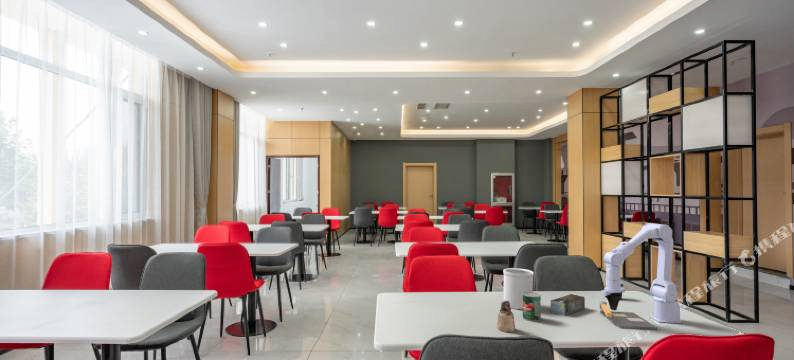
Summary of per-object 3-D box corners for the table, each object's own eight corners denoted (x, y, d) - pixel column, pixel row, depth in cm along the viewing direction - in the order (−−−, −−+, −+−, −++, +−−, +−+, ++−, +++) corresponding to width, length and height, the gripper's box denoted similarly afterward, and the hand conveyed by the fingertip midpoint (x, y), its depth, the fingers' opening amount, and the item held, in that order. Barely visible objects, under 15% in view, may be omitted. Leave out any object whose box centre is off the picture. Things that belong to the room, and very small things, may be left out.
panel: (632, 314, 192) (632, 309, 192) (657, 329, 171) (657, 324, 171) (599, 312, 194) (599, 307, 194) (619, 328, 173) (619, 322, 173)
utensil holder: (529, 302, 211) (529, 268, 211) (536, 310, 196) (536, 274, 196) (500, 301, 212) (501, 267, 213) (505, 309, 197) (505, 273, 198)
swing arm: (599, 306, 194) (599, 301, 194) (606, 307, 193) (606, 301, 194) (605, 317, 178) (605, 311, 178) (613, 318, 177) (613, 312, 177)
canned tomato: (542, 317, 185) (542, 293, 186) (538, 322, 179) (538, 297, 179) (524, 314, 189) (524, 291, 190) (520, 319, 183) (520, 294, 183)
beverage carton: (549, 312, 195) (549, 298, 195) (570, 305, 206) (570, 292, 206) (565, 316, 188) (565, 302, 188) (585, 309, 200) (585, 296, 200)
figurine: (511, 326, 173) (512, 298, 173) (517, 332, 166) (517, 303, 166) (495, 326, 173) (495, 298, 173) (500, 332, 166) (500, 302, 166)
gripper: (614, 275, 188) (614, 305, 188) (595, 279, 181) (595, 309, 181) (629, 278, 182) (629, 309, 182) (610, 282, 175) (610, 314, 174)
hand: (613, 309), depth 181 cm, fingers closed
